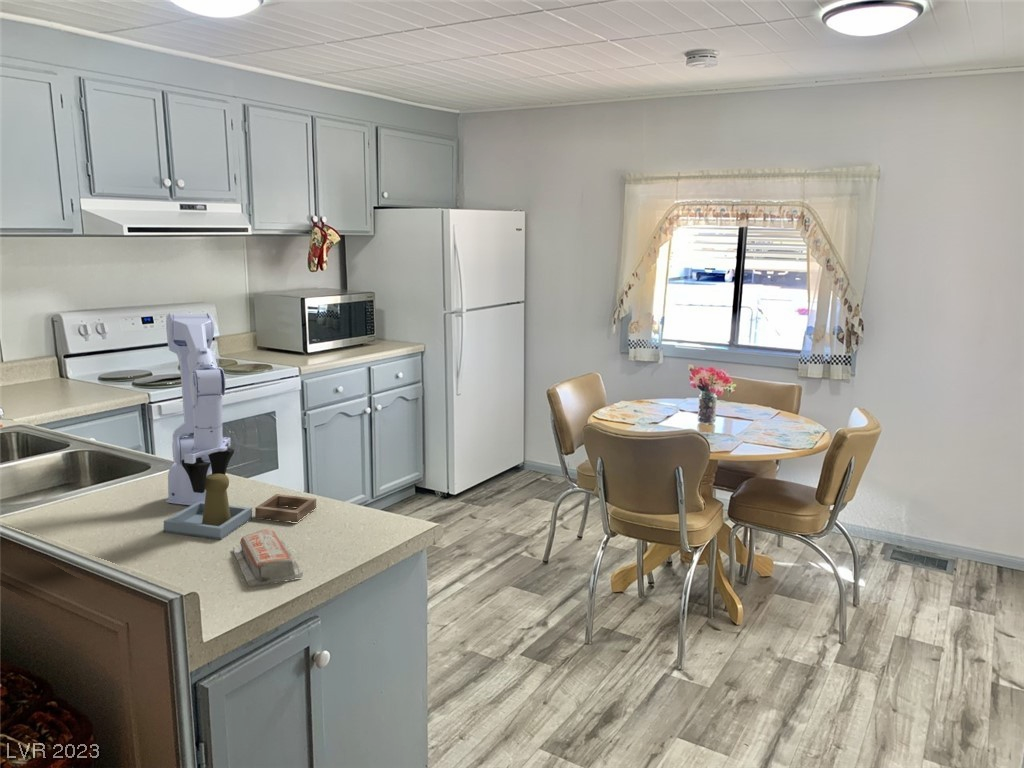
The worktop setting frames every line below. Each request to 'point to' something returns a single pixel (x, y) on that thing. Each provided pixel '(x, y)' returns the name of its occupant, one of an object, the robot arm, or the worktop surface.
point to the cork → (216, 500)
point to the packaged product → (265, 559)
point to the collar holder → (271, 512)
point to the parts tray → (192, 524)
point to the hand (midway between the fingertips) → (208, 486)
